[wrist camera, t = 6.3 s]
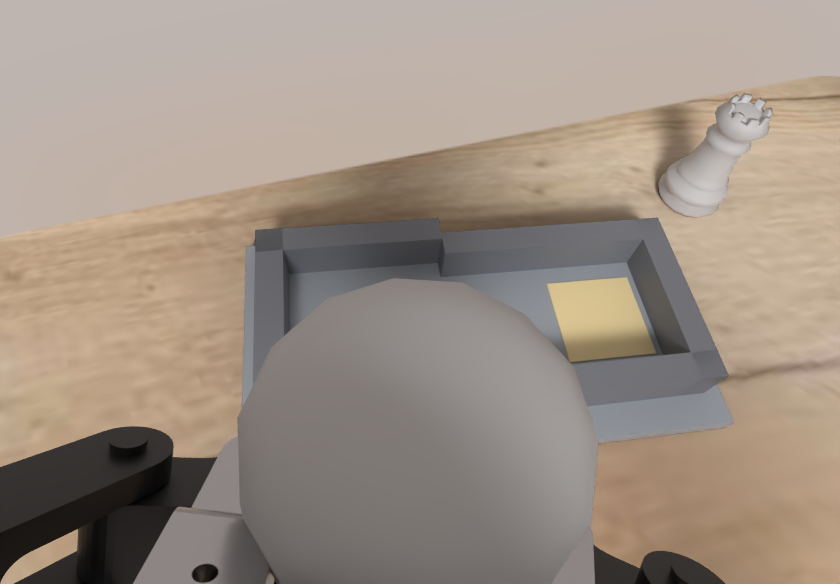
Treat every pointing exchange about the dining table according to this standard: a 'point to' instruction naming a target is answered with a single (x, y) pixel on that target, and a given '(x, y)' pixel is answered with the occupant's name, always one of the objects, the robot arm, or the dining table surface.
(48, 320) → the dining table surface
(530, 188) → the dining table surface
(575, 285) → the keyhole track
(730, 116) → the rook chess piece
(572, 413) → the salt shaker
